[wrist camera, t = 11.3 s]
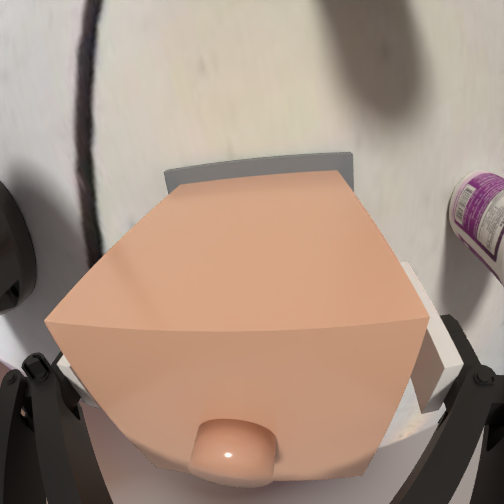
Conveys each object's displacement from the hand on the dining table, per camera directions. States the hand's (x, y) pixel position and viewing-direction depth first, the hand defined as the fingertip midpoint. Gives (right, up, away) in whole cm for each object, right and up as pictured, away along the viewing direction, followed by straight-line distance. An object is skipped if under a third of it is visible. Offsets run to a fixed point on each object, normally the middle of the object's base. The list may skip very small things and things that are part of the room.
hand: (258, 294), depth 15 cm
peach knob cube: (0, +2, +4) cm, 5 cm away
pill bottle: (+15, +5, +2) cm, 16 cm away
